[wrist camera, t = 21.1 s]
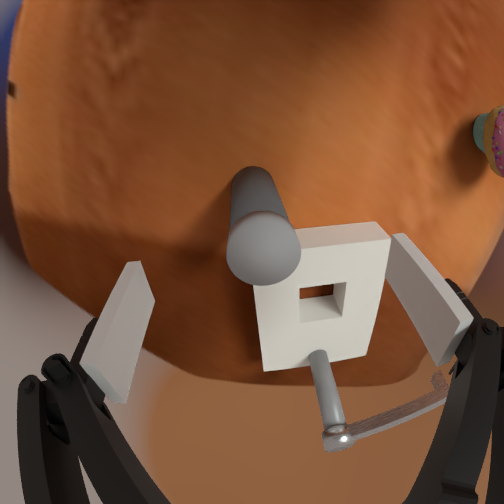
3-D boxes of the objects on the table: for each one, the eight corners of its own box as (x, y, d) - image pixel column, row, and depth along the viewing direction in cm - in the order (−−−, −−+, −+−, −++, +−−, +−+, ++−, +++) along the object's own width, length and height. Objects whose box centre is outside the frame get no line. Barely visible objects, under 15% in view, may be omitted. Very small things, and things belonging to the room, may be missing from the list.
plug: (227, 168, 26) (221, 226, 15) (273, 163, 26) (300, 217, 15) (233, 209, 28) (231, 289, 17) (276, 204, 28) (301, 281, 17)
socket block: (247, 234, 29) (256, 347, 17) (375, 221, 29) (449, 311, 17) (261, 348, 39) (270, 445, 26) (357, 334, 38) (390, 421, 26)
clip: (441, 366, 24) (455, 394, 20) (436, 380, 25) (449, 406, 22) (316, 414, 26) (322, 447, 22) (320, 424, 27) (326, 454, 24)
